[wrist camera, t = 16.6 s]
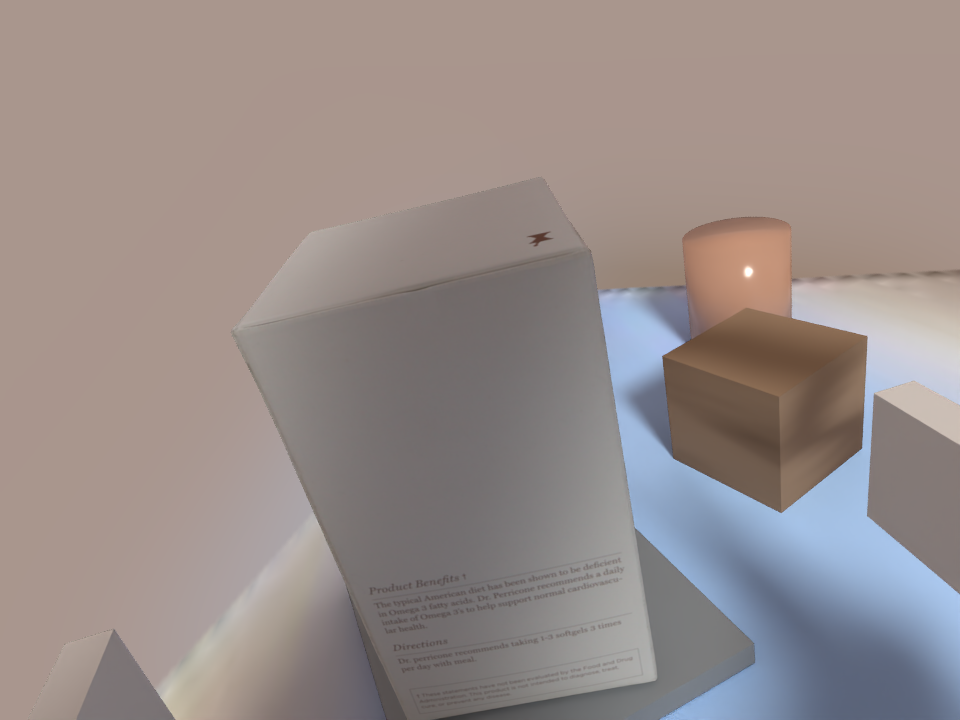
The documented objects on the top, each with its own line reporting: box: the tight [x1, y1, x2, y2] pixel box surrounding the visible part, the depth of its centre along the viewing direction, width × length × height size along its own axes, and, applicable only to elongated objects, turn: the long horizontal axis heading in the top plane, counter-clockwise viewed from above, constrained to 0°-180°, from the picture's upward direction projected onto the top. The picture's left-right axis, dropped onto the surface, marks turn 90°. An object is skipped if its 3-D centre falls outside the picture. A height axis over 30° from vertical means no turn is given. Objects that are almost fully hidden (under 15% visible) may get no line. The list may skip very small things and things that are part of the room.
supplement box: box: [231, 177, 658, 720], centre depth 18 cm, size 7×7×13 cm
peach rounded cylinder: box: [682, 217, 792, 339], centre depth 33 cm, size 5×5×6 cm
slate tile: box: [346, 527, 755, 720], centre depth 21 cm, size 10×10×1 cm
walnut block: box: [662, 308, 867, 513], centre depth 25 cm, size 5×5×5 cm
